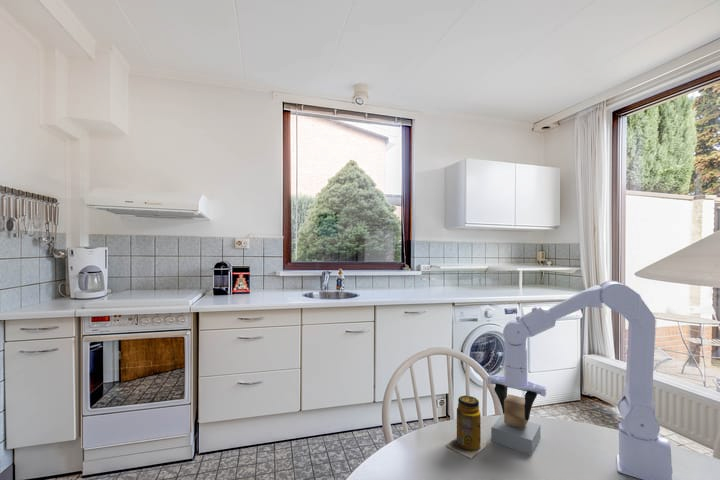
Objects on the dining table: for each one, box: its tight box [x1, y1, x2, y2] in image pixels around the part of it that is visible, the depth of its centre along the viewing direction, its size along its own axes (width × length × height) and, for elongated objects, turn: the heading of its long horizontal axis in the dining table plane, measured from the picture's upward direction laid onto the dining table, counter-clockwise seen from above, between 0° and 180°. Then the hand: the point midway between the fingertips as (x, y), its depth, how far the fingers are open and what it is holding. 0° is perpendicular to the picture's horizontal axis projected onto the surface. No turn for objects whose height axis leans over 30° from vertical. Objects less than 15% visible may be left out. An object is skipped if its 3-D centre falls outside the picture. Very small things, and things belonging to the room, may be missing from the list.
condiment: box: [445, 395, 488, 459], centre depth 90 cm, size 7×8×12 cm
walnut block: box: [504, 393, 529, 428], centre depth 93 cm, size 5×5×6 cm
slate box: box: [490, 413, 542, 456], centre depth 93 cm, size 10×10×4 cm
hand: (516, 415), depth 93 cm, fingers closed on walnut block, 5 cm apart
